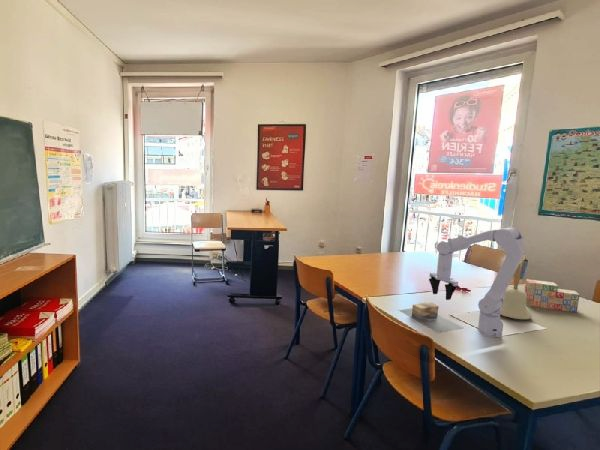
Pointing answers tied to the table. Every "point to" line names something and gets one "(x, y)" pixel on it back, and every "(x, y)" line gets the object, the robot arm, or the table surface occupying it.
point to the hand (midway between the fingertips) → (441, 296)
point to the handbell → (515, 300)
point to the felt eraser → (425, 310)
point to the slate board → (434, 322)
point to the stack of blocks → (550, 296)
